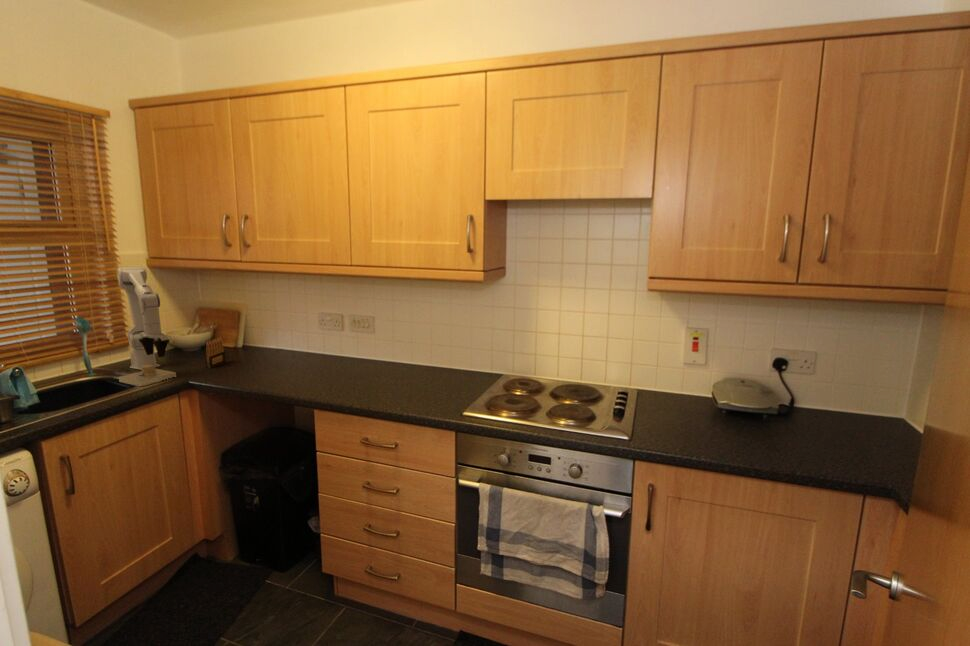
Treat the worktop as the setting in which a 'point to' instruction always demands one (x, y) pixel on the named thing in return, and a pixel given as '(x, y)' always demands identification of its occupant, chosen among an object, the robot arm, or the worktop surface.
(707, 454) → the worktop surface
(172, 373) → the plate with square hole
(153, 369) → the wooden block
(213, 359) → the ammunition clip
